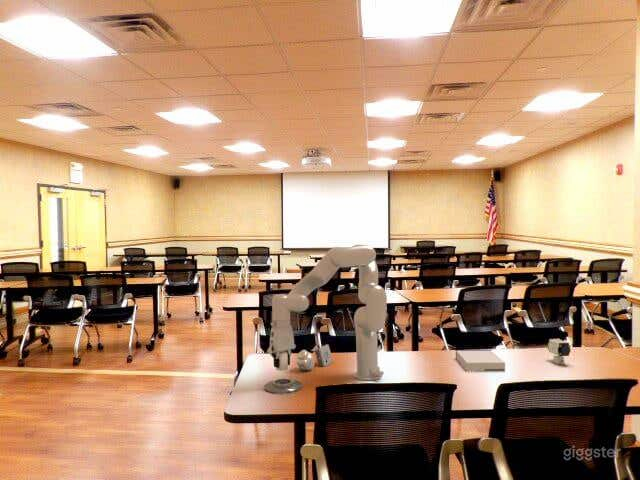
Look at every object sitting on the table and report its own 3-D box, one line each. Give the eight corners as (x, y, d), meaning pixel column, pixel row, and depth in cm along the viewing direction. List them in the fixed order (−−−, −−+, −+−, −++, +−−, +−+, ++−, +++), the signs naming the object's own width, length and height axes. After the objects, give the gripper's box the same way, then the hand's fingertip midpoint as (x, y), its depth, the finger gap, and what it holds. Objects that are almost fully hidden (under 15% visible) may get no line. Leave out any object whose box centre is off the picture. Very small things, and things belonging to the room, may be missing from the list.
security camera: (556, 359, 235) (555, 335, 234) (571, 366, 223) (570, 341, 223) (545, 360, 234) (545, 336, 234) (560, 367, 222) (559, 341, 222)
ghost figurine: (293, 369, 229) (292, 348, 229) (311, 366, 233) (310, 346, 233) (300, 374, 221) (299, 353, 221) (318, 371, 225) (317, 350, 225)
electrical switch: (324, 367, 231) (322, 348, 232) (315, 367, 234) (313, 348, 234) (333, 362, 240) (331, 344, 240) (324, 362, 242) (322, 344, 242)
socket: (309, 387, 202) (309, 381, 202) (279, 396, 192) (279, 390, 192) (286, 379, 214) (286, 373, 214) (256, 387, 203) (256, 381, 203)
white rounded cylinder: (290, 368, 203) (289, 351, 202) (280, 371, 199) (280, 353, 199) (283, 366, 206) (282, 349, 206) (273, 368, 203) (273, 351, 203)
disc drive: (491, 359, 240) (490, 349, 240) (505, 372, 218) (505, 361, 217) (455, 359, 241) (455, 349, 241) (466, 372, 219) (466, 362, 219)
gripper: (270, 327, 194) (271, 371, 194) (302, 322, 205) (302, 363, 206) (259, 325, 199) (260, 368, 200) (291, 319, 211) (292, 360, 211)
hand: (282, 365), depth 203 cm, fingers closed on white rounded cylinder, 5 cm apart
